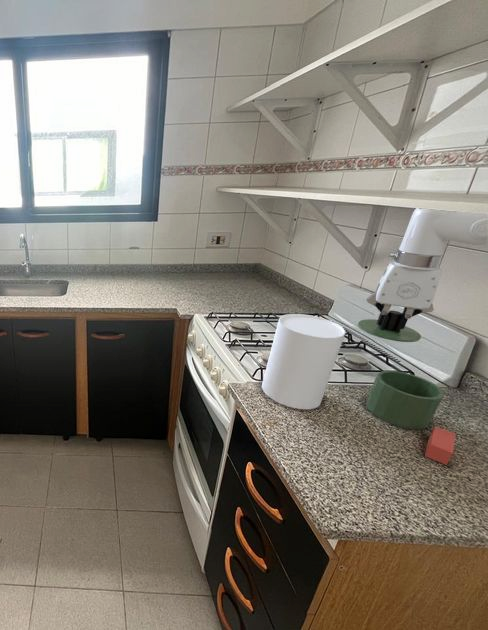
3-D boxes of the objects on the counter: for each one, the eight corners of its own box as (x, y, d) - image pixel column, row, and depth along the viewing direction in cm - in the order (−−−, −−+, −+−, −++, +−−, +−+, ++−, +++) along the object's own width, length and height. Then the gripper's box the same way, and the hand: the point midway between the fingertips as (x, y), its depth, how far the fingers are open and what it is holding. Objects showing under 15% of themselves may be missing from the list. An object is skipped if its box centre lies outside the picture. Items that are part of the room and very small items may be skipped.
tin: (421, 408, 85) (435, 379, 82) (434, 436, 77) (451, 405, 73) (363, 393, 91) (374, 365, 88) (369, 418, 82) (381, 388, 79)
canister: (251, 379, 97) (267, 315, 89) (296, 376, 98) (316, 312, 90) (283, 411, 85) (304, 339, 77) (334, 407, 86) (360, 336, 78)
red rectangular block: (428, 437, 76) (434, 425, 75) (449, 445, 74) (455, 433, 73) (424, 456, 72) (430, 444, 70) (446, 465, 69) (453, 453, 68)
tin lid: (413, 329, 91) (422, 309, 89) (425, 349, 82) (435, 326, 80) (354, 319, 98) (361, 300, 95) (359, 336, 88) (367, 315, 86)
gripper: (375, 258, 83) (351, 327, 90) (470, 268, 75) (435, 342, 82) (371, 252, 89) (348, 317, 96) (458, 260, 81) (426, 330, 88)
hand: (388, 328), depth 89 cm, fingers closed on tin lid, 2 cm apart
